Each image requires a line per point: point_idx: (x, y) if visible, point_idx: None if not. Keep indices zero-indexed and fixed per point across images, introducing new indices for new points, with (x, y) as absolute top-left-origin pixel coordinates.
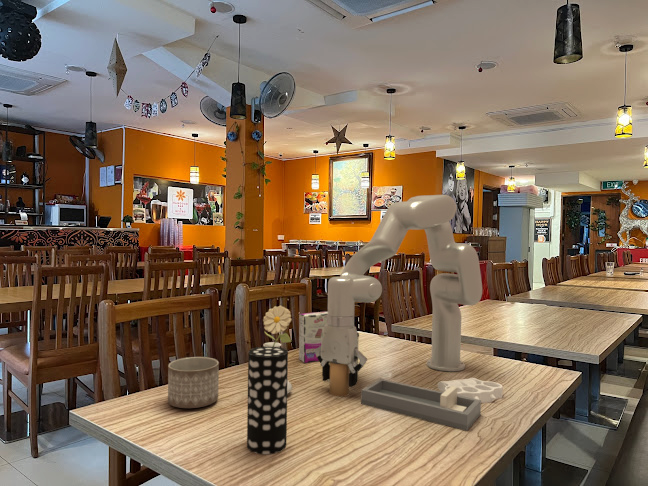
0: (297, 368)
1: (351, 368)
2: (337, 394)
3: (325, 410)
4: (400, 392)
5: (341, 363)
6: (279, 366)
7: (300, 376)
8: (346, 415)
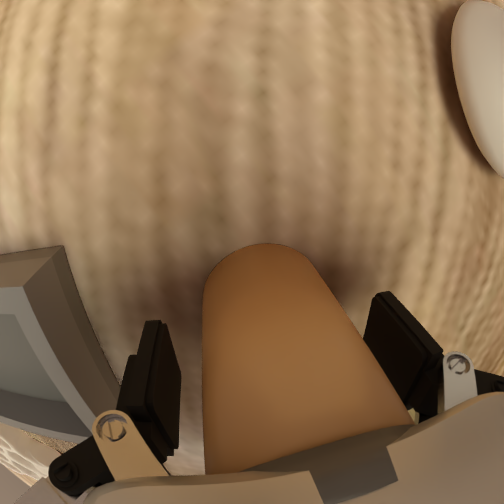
0: (483, 350)
1: (125, 449)
2: (238, 254)
3: (152, 15)
4: (39, 401)
5: (223, 480)
6: None
7: (473, 315)
8: (30, 63)
